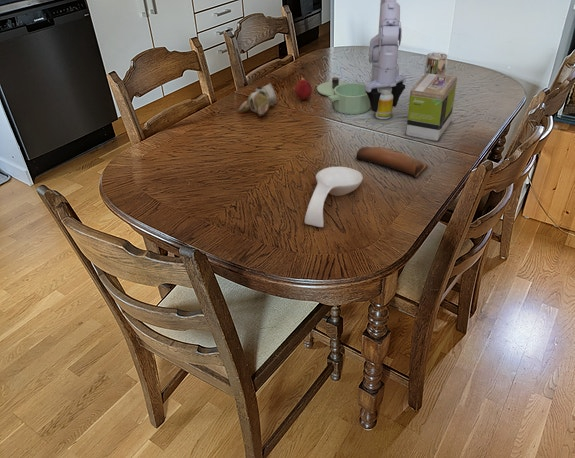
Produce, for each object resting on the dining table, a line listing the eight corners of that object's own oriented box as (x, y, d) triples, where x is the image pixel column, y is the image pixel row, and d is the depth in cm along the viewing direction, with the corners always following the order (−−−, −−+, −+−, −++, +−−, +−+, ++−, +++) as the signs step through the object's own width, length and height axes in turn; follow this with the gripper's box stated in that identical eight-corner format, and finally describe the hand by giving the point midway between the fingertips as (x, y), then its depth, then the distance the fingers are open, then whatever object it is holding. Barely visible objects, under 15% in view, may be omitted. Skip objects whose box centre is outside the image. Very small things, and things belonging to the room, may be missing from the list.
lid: (310, 89, 184) (310, 76, 181) (340, 81, 189) (340, 69, 186) (329, 101, 174) (329, 88, 171) (361, 92, 179) (361, 80, 176)
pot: (320, 106, 171) (320, 89, 167) (362, 95, 177) (363, 78, 174) (340, 119, 162) (340, 101, 158) (384, 106, 168) (385, 89, 165)
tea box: (420, 116, 161) (426, 71, 152) (451, 122, 157) (459, 76, 148) (404, 135, 151) (409, 88, 142) (437, 142, 147) (445, 94, 138)
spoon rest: (325, 174, 135) (325, 150, 130) (367, 181, 131) (369, 157, 127) (291, 222, 118) (290, 197, 113) (338, 233, 114) (339, 207, 109)
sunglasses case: (428, 163, 136) (425, 150, 130) (417, 185, 134) (414, 172, 129) (370, 147, 145) (365, 133, 139) (359, 166, 143) (353, 154, 138)
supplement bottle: (371, 115, 164) (373, 86, 158) (385, 111, 165) (387, 83, 160) (381, 121, 160) (383, 92, 154) (394, 117, 161) (397, 88, 156)
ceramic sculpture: (283, 80, 167) (259, 99, 157) (285, 104, 172) (262, 124, 163) (256, 76, 171) (231, 94, 162) (259, 99, 177) (235, 118, 167)
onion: (312, 97, 178) (312, 74, 173) (311, 103, 173) (311, 81, 168) (296, 97, 178) (295, 75, 173) (294, 103, 174) (294, 81, 169)
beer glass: (443, 96, 173) (450, 53, 164) (439, 104, 168) (445, 60, 159) (423, 94, 176) (428, 51, 167) (418, 101, 171) (424, 57, 162)
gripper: (375, 75, 147) (372, 117, 155) (414, 65, 152) (409, 107, 161) (361, 68, 152) (359, 110, 160) (399, 59, 157) (395, 100, 166)
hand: (383, 108), depth 161 cm, fingers open, 7 cm apart
